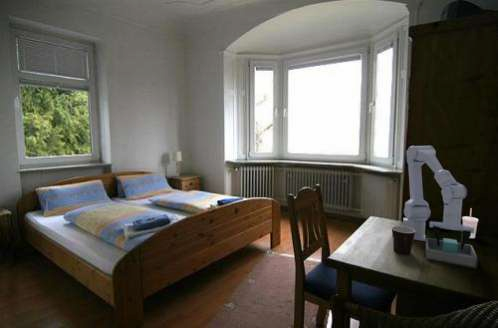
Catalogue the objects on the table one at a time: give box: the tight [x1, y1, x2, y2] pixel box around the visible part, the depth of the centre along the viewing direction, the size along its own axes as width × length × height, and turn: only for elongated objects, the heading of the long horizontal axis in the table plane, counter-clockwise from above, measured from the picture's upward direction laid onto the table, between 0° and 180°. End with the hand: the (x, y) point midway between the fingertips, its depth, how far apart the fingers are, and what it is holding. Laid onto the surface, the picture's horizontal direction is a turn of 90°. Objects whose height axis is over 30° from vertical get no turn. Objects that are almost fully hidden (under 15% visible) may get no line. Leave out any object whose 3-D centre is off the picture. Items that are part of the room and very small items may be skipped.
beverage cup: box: [461, 207, 479, 239], centre depth 135 cm, size 6×6×14 cm
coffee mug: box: [391, 225, 415, 256], centre depth 118 cm, size 12×9×10 cm
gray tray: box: [425, 237, 479, 269], centre depth 115 cm, size 16×14×4 cm
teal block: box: [442, 237, 459, 254], centre depth 115 cm, size 4×4×6 cm
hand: (449, 246), depth 114 cm, fingers open, 7 cm apart
